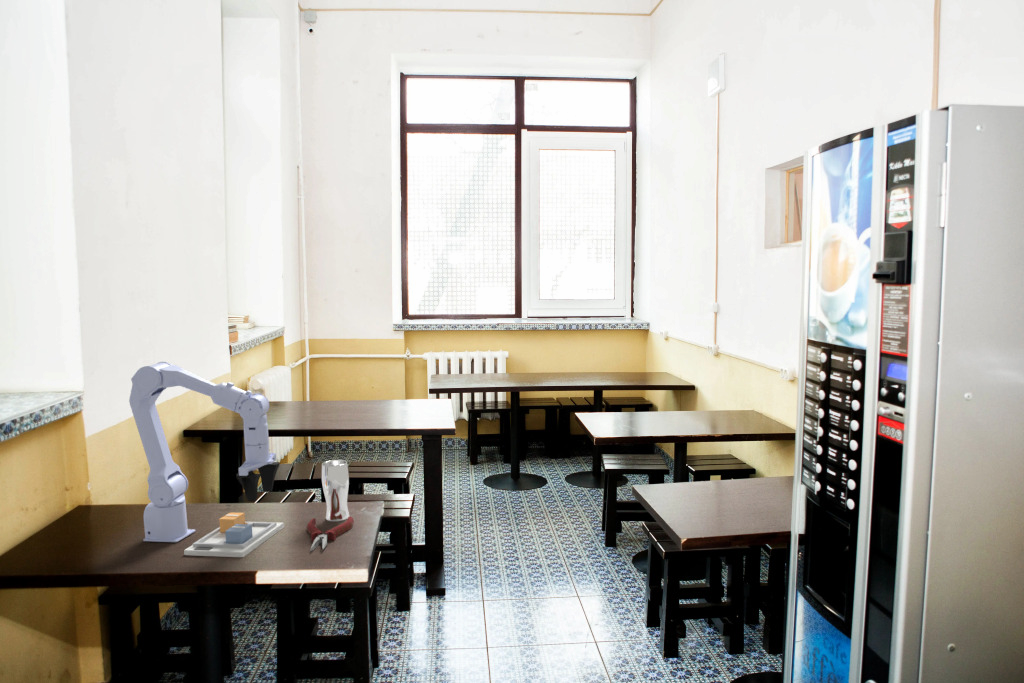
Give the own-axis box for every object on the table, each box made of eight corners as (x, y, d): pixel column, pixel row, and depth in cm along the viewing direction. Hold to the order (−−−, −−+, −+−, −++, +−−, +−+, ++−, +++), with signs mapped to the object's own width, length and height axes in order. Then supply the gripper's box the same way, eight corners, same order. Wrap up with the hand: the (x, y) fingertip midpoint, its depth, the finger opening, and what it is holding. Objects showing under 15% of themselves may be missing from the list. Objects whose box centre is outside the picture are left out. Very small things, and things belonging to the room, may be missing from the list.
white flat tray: (184, 555, 173) (183, 546, 173) (231, 525, 193) (230, 518, 193) (242, 557, 171) (242, 549, 171) (284, 527, 190) (283, 519, 190)
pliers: (292, 556, 172) (291, 545, 172) (310, 526, 192) (310, 516, 192) (341, 553, 172) (341, 542, 172) (355, 524, 192) (354, 514, 192)
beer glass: (347, 521, 193) (344, 465, 191) (321, 522, 193) (317, 466, 191) (353, 513, 200) (350, 459, 198) (328, 513, 200) (324, 459, 198)
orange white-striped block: (220, 532, 184) (219, 518, 184) (231, 525, 189) (230, 511, 189) (234, 533, 184) (233, 518, 183) (245, 526, 188) (244, 512, 188)
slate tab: (226, 545, 175) (225, 530, 175) (237, 537, 180) (236, 523, 180) (241, 545, 175) (240, 530, 174) (252, 538, 179) (251, 523, 179)
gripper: (256, 450, 176) (259, 505, 178) (285, 436, 191) (288, 487, 192) (229, 449, 178) (233, 504, 179) (260, 436, 192) (263, 487, 193)
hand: (260, 495), depth 186 cm, fingers open, 7 cm apart
